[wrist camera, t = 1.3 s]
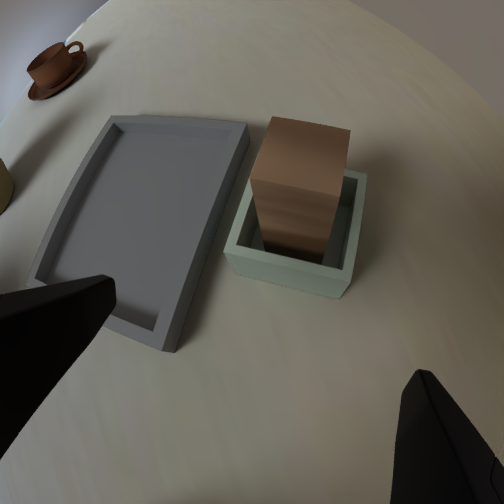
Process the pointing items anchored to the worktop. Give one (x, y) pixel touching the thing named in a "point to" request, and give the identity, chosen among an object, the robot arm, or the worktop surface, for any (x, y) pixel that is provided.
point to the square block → (298, 186)
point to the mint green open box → (293, 270)
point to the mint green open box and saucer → (54, 69)
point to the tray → (144, 218)
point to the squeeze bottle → (5, 186)
